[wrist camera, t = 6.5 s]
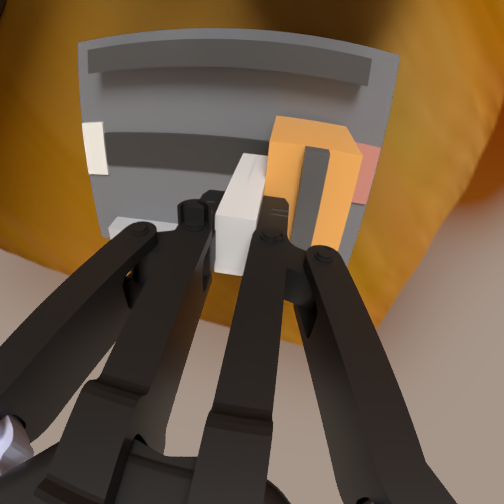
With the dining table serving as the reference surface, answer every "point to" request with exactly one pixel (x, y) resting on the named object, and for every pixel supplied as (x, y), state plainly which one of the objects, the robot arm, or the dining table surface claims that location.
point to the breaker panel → (217, 112)
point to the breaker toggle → (313, 178)
